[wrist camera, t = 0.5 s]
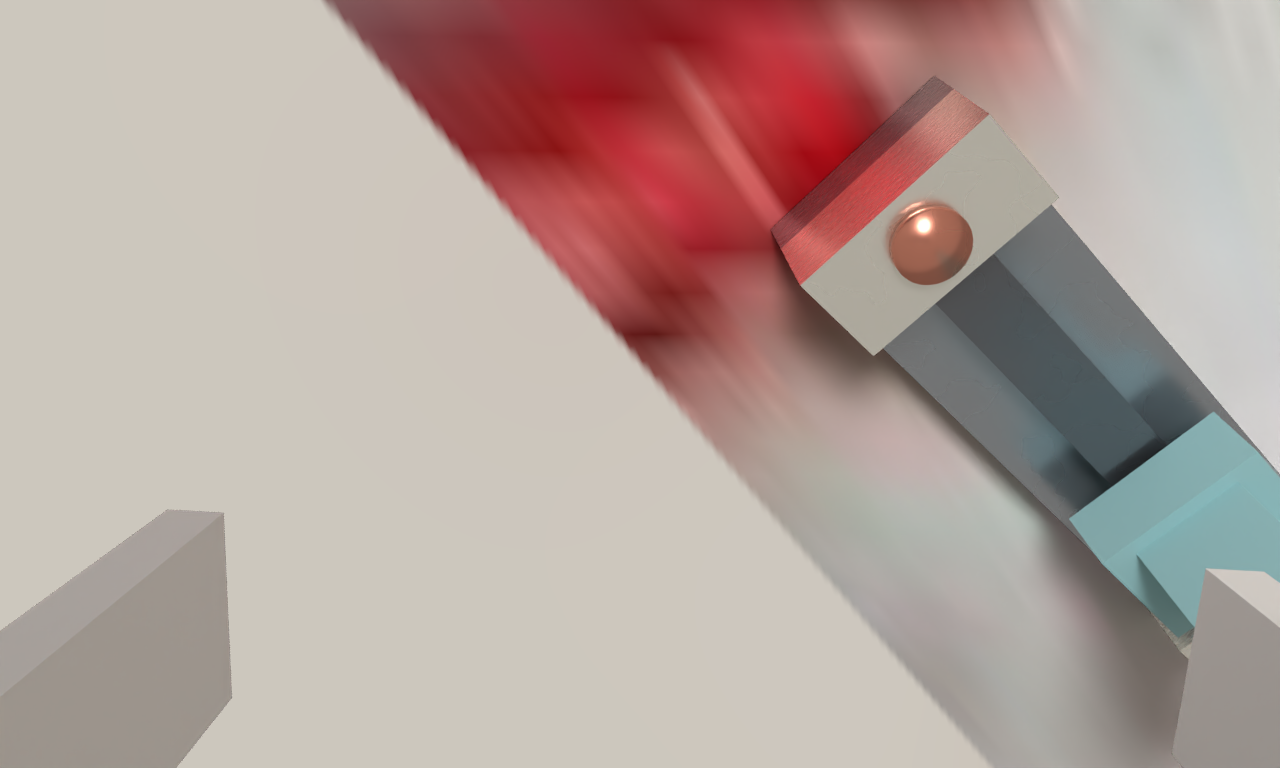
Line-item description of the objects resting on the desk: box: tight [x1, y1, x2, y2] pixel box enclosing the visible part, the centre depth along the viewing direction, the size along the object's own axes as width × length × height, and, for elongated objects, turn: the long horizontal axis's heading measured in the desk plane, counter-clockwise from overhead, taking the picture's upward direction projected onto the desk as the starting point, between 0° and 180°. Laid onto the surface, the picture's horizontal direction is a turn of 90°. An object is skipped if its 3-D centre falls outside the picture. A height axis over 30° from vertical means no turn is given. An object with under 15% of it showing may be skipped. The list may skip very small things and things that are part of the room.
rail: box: [771, 76, 1280, 660], centre depth 31 cm, size 22×6×4 cm, turn 45°
